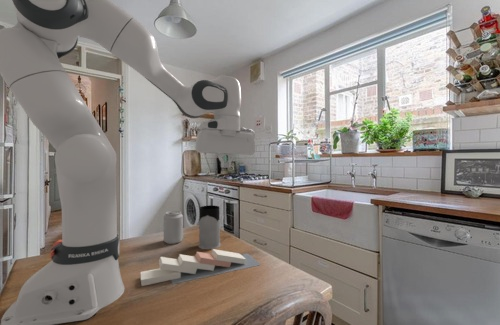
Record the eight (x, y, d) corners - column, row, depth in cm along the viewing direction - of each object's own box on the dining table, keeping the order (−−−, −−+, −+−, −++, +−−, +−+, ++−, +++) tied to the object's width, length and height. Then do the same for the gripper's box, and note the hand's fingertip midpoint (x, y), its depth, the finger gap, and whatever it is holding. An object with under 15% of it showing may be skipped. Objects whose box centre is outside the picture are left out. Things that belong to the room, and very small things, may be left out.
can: (165, 238, 101) (165, 210, 101) (183, 238, 102) (183, 209, 102) (161, 245, 94) (161, 214, 94) (181, 244, 95) (181, 213, 95)
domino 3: (213, 270, 72) (180, 266, 68) (208, 264, 76) (177, 259, 72) (215, 265, 72) (182, 260, 68) (210, 259, 77) (179, 254, 72)
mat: (172, 285, 64) (172, 284, 64) (167, 269, 73) (167, 268, 73) (261, 265, 76) (261, 264, 76) (247, 254, 85) (247, 253, 85)
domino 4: (229, 267, 74) (199, 263, 70) (224, 261, 79) (194, 256, 74) (231, 262, 74) (201, 257, 70) (225, 256, 79) (196, 251, 74)
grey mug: (195, 250, 89) (195, 209, 89) (203, 237, 103) (203, 202, 103) (219, 250, 89) (219, 209, 88) (224, 237, 103) (224, 202, 102)
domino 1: (180, 277, 68) (141, 286, 63) (177, 270, 72) (140, 277, 68) (180, 272, 68) (141, 280, 63) (177, 265, 72) (140, 271, 68)
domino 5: (244, 264, 76) (216, 259, 72) (238, 258, 81) (210, 253, 77) (246, 259, 77) (217, 254, 72) (239, 253, 81) (212, 248, 77)
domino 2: (195, 274, 70) (160, 269, 65) (191, 267, 74) (158, 262, 70) (197, 268, 70) (162, 263, 66) (193, 261, 74) (160, 256, 70)
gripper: (251, 129, 88) (249, 167, 88) (194, 124, 80) (193, 166, 80) (259, 128, 83) (257, 168, 83) (199, 121, 74) (197, 167, 74)
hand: (225, 167), depth 81 cm, fingers closed
